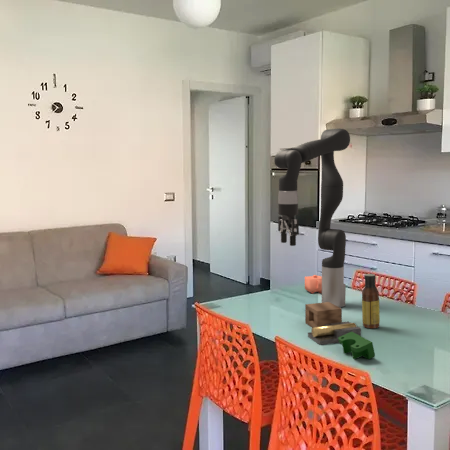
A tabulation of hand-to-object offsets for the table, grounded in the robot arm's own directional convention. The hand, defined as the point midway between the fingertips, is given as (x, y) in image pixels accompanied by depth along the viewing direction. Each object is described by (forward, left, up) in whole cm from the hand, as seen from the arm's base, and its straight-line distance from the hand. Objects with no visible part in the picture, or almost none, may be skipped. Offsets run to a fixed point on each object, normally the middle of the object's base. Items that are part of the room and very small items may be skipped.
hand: (288, 244), depth 202 cm
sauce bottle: (-25, +19, -30) cm, 44 cm away
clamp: (-4, +43, -30) cm, 53 cm away
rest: (-6, +26, -30) cm, 40 cm away
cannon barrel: (-6, +26, -29) cm, 39 cm away
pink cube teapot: (-30, -37, -30) cm, 57 cm away
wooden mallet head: (-9, +12, -30) cm, 34 cm away
